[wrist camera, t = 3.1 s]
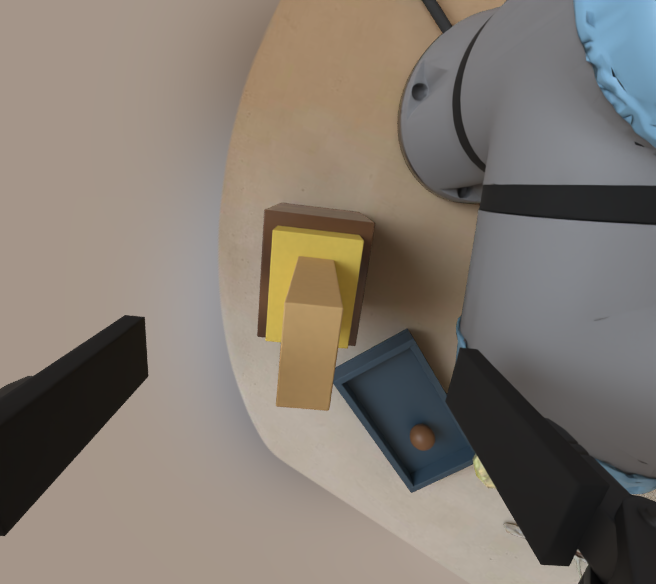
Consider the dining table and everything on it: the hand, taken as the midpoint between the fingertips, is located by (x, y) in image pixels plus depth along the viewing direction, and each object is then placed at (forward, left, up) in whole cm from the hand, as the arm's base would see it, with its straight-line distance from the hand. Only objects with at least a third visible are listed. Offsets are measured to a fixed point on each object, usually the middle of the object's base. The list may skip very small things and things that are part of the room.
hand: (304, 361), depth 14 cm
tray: (+23, 0, -22) cm, 31 cm away
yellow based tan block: (0, 0, -12) cm, 12 cm away
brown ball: (+26, 0, -20) cm, 32 cm away
